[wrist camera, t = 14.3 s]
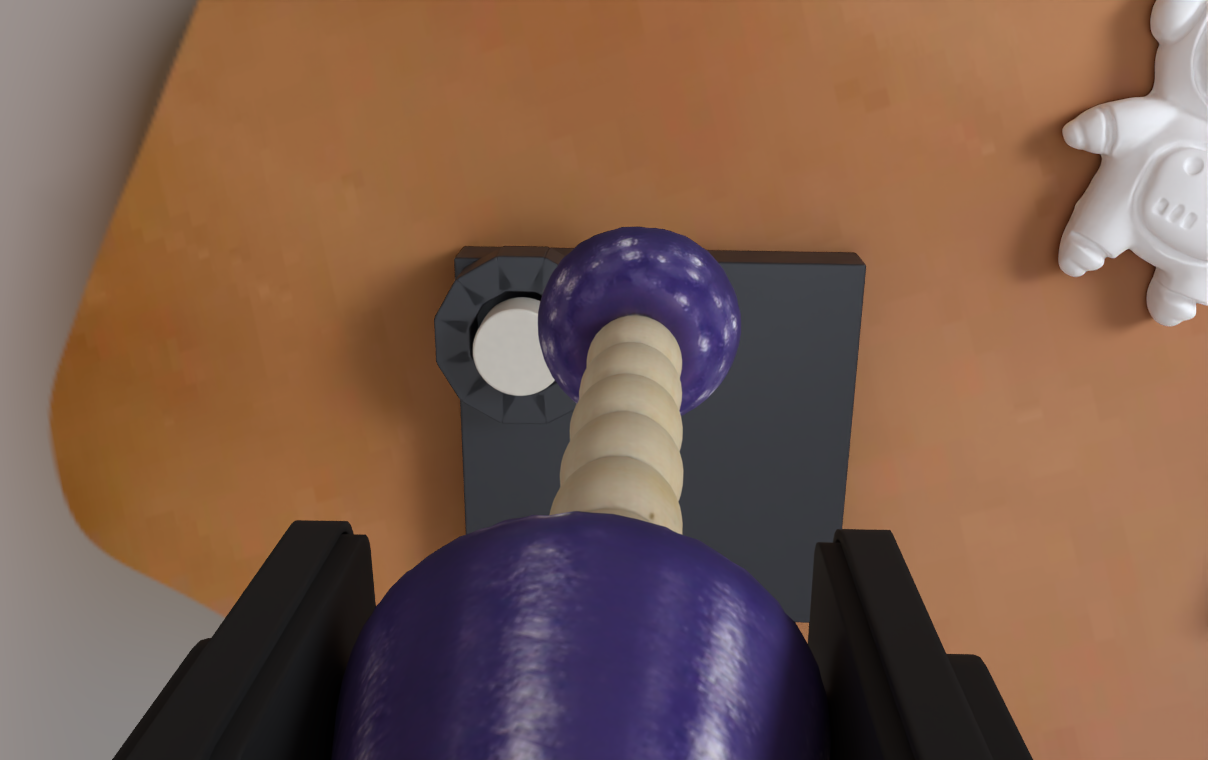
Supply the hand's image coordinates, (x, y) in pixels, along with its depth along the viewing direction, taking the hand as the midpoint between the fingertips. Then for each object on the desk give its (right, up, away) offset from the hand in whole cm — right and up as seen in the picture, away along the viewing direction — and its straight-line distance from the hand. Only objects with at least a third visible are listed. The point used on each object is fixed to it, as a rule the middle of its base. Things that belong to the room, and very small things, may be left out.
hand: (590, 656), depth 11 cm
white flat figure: (+20, +11, +24) cm, 33 cm away
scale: (+2, +1, +29) cm, 29 cm away
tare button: (-3, +4, +24) cm, 25 cm away
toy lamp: (+1, +4, +11) cm, 12 cm away
